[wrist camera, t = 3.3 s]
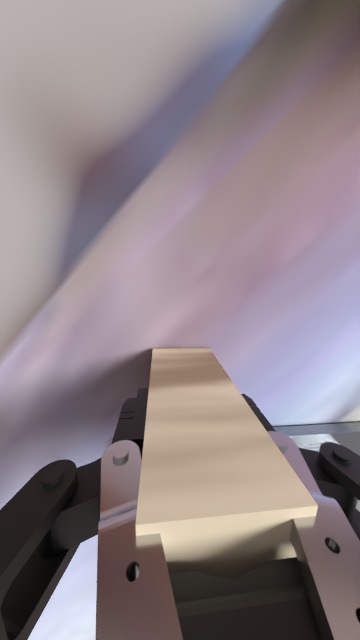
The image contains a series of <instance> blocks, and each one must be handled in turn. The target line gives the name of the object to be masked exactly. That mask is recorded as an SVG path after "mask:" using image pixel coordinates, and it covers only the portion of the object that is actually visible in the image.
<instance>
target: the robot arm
mask: <svg viewBox="0 0 360 640" xmlns="http://www.w3.org/2000/svg"><path fill="white" fill-rule="evenodd" d="M148 392H149V388H141V389H139V390H138V396H137V398H129V399H128V400H127V401H126V402H125V403H124V404H123V407H122V410H121V414H120V417H119V421H118V424H117V428H116V431H115V435H114V438H113V442H112V445H110V446H109V447H108V448H107V449H106V450H105V451H104V453H103V455H102V457H101V458H100V459H98V460H96V461H95V462H92V463H90V464H87V465H84V466H81V467H78V468H76V465H75V463H74V462H72V461H70V460H58V461H55V462H52V463H50V464H48V465H46V466H45V467H43V468H42V469H41V470H39V471H38V472H37V473H36V474H35V475H34V476H33V477H32V478H31V479H30V480H29V481H28V482H27V483H26V484H25V485H24V486H23V487H22V488H21V489H20V490H19V491H18V492H17V493H16V495H15V496H14V497H13V498H12V499H11V500H10V501H9V502H8V503H7V504H6V505H5V506H4V507H3V508H2V509H1V510H0V640H27V639H28V637H29V636H30V634H31V632H32V630H33V628H34V626H35V625H36V623H37V621H38V619H39V617H40V616H41V614H42V612H43V610H44V608H45V606H46V605H47V603H48V601H49V599H50V597H51V596H52V594H53V592H54V590H55V588H56V587H57V585H58V583H59V581H60V579H61V577H62V576H63V574H64V572H65V570H66V568H67V567H68V565H69V563H70V561H71V559H72V557H73V556H74V554H75V552H76V550H77V548H78V547H79V545H80V543H81V542H83V541H85V540H87V539H89V538H91V537H93V536H95V535H97V534H98V559H97V601H96V640H360V512H359V511H358V510H357V509H356V506H357V502H358V500H359V501H360V456H359V455H358V454H356V453H355V452H353V451H352V450H350V449H348V448H346V447H344V446H342V445H340V444H337V443H333V442H324V443H322V444H321V445H320V449H319V452H318V451H313V450H308V449H303V448H299V447H298V446H297V445H296V443H295V442H294V441H293V440H292V439H291V438H289V437H288V436H286V435H284V434H282V433H279V432H276V431H275V430H274V428H273V427H272V426H271V424H270V423H269V422H268V420H267V419H266V418H265V416H264V415H263V414H262V413H261V411H260V410H259V408H258V407H257V406H256V404H255V403H254V402H253V400H252V399H251V398H249V397H248V396H246V395H245V394H241V395H242V396H243V398H244V399H245V401H246V402H247V404H248V405H249V406H250V408H251V409H252V411H253V412H254V414H255V415H256V417H257V418H258V419H259V421H260V422H261V424H262V425H263V427H264V428H265V430H266V431H267V432H268V434H269V435H270V437H271V438H272V440H273V441H274V442H275V444H276V445H277V447H278V448H279V450H280V451H281V453H282V454H283V455H284V457H285V458H286V460H287V461H288V463H289V464H290V466H291V467H292V468H293V470H294V471H295V473H296V474H297V476H298V477H299V479H300V480H301V481H302V483H303V484H304V486H305V487H306V489H307V490H308V492H309V493H310V494H311V496H312V497H313V499H314V500H315V502H316V503H317V505H318V509H317V513H316V516H311V517H302V518H293V523H292V528H291V533H290V538H289V541H290V542H291V544H292V546H293V548H294V550H295V553H296V556H297V557H293V558H286V559H278V560H271V561H266V562H264V563H263V564H261V565H259V566H258V567H256V568H255V569H253V570H251V571H250V572H248V573H247V574H245V575H243V576H242V577H240V578H239V579H237V580H228V579H224V578H220V577H217V576H213V575H209V574H205V573H201V572H197V571H188V572H181V573H173V574H169V572H168V568H167V563H166V559H165V554H164V549H163V545H162V540H161V535H160V533H158V534H149V535H140V536H136V515H137V505H138V494H139V484H140V474H141V464H142V453H143V443H144V433H145V423H146V413H147V402H148Z"/></svg>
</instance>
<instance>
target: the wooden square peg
mask: <svg viewBox="0 0 360 640" xmlns="http://www.w3.org/2000/svg"><path fill="white" fill-rule="evenodd" d="M317 509H318V505H317V503H316V502H315V500H314V499H313V497H312V496H311V494H310V493H309V492H308V490H307V489H306V487H305V486H304V484H303V483H302V481H301V480H300V479H299V477H298V476H297V474H296V473H295V471H294V470H293V468H292V467H291V466H290V464H289V463H288V461H287V460H286V458H285V457H284V455H283V454H282V453H281V451H280V450H279V448H278V447H277V445H276V444H275V442H274V441H273V440H272V438H271V437H270V435H269V434H268V432H267V431H266V430H265V428H264V427H263V425H262V424H261V422H260V421H259V419H258V418H257V417H256V415H255V414H254V412H253V411H252V409H251V408H250V406H249V405H248V404H247V402H246V401H245V399H244V398H243V396H242V395H241V393H240V392H239V391H238V389H237V388H236V386H235V385H234V383H233V382H232V380H231V379H230V378H229V376H228V375H227V373H226V372H225V370H224V369H223V367H222V366H221V365H220V363H219V362H218V360H217V359H216V357H215V356H214V354H213V353H212V352H211V350H210V349H209V348H153V351H152V361H151V372H150V382H149V392H148V402H147V413H146V423H145V433H144V443H143V453H142V464H141V474H140V484H139V494H138V505H137V515H136V536H140V535H149V534H158V533H160V535H161V540H162V545H163V549H164V554H165V559H166V563H167V568H168V572H169V574H173V573H181V572H188V571H197V572H201V573H205V574H209V575H213V576H217V577H220V578H224V579H228V580H237V579H239V578H240V577H242V576H243V575H245V574H247V573H248V572H250V571H251V570H253V569H255V568H256V567H258V566H259V565H261V564H263V563H264V562H266V561H271V560H278V559H286V558H293V557H297V556H296V553H295V550H294V548H293V546H292V544H291V542H290V541H289V538H290V533H291V528H292V523H293V518H302V517H311V516H316V513H317Z"/></svg>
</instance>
